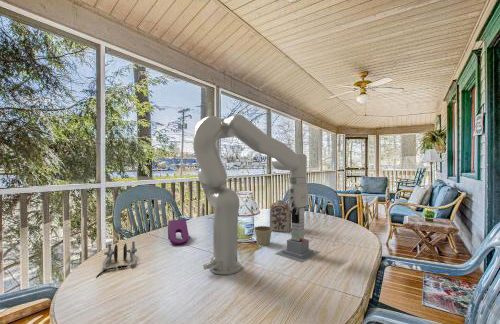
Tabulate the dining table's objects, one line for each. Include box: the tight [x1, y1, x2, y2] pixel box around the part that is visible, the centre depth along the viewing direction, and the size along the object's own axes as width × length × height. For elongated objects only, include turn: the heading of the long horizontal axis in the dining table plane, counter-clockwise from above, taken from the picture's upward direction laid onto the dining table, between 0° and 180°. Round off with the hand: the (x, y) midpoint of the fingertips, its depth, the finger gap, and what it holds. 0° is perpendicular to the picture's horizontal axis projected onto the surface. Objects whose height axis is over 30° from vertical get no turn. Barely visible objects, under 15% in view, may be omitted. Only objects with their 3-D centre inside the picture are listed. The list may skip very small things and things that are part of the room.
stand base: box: [274, 237, 321, 263], centre depth 115 cm, size 16×14×8 cm
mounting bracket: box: [167, 218, 190, 247], centre depth 137 cm, size 10×8×18 cm
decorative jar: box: [269, 199, 292, 233], centre depth 159 cm, size 12×12×18 cm
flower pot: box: [253, 225, 273, 246], centre depth 129 cm, size 9×9×9 cm
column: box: [291, 207, 305, 242], centre depth 115 cm, size 4×4×14 cm
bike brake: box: [95, 240, 139, 279], centre depth 105 cm, size 14×7×20 cm
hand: (297, 221), depth 115 cm, fingers closed on column, 4 cm apart
